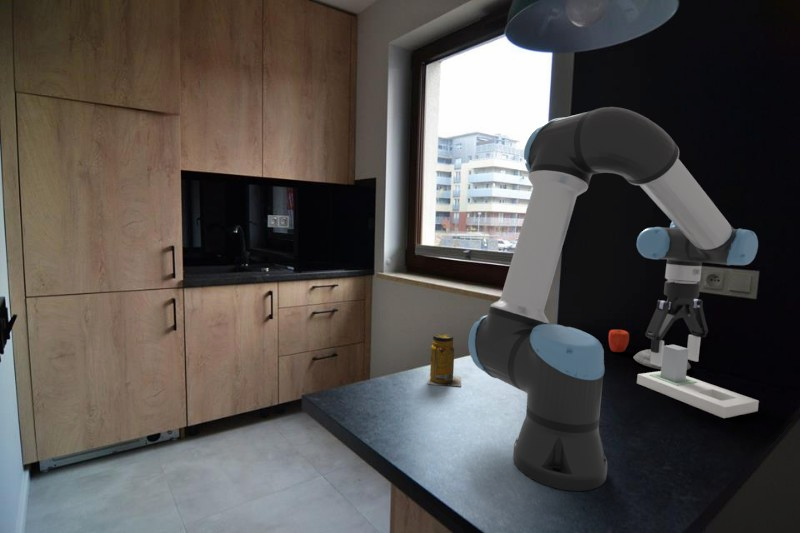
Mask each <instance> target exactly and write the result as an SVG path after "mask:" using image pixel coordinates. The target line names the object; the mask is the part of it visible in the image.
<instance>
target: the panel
mask: <svg viewBox="0 0 800 533" xmlns="http://www.w3.org/2000/svg"><path fill="white" fill-rule="evenodd" d="M660 375H661V370H660V371H659V370H658V371H652V372H651V371H650V372H646V373H645V372H643V373H638V374H637V378H636V384H638V385H641V386H643V387H646V388H648V389H650V390H652V391H655V392H658V393H660V394H663V395H666V396H667V397H670V398H673V399H675V400H678V401H680V402H683V403H685V404H686V405H687V404H688V405H689V406H692V407H694V408H698V409H700V410H702V411H704V412H707V413H709V414H712V415H714V416H717V417H719V418H723V419H726V418H732V417H737V416H740V415H746V414H751V413H756V412H758V411H759V403H760V401H759V400H758V399H755V398H752V397H749V396H746V395H743V394H740V393H737V392H735V391H731V390H729V389H726V388H723V387H720V386H717V385H714V384H711V383H708V382H705V381H704V380H703V381H702V380H700V379H697V378H694V377H690V376H689V375H686V381H685V382H680V383H674V382H671V381H669V380H666V379H663V378H660Z"/></svg>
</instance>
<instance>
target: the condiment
mask: <svg viewBox="0 0 800 533" xmlns="http://www.w3.org/2000/svg"><path fill="white" fill-rule="evenodd" d="M430 353H431V354H430V368H429V369H430V374H428V381H427V384H428V385H435V386H452V387H462V376H455V375H454V370H455V369H454V367H455V365H454V364H455V346H454V336H453V335H450V334H448V333H437V334H434V335H433V337H432V345H431V348H430Z"/></svg>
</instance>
